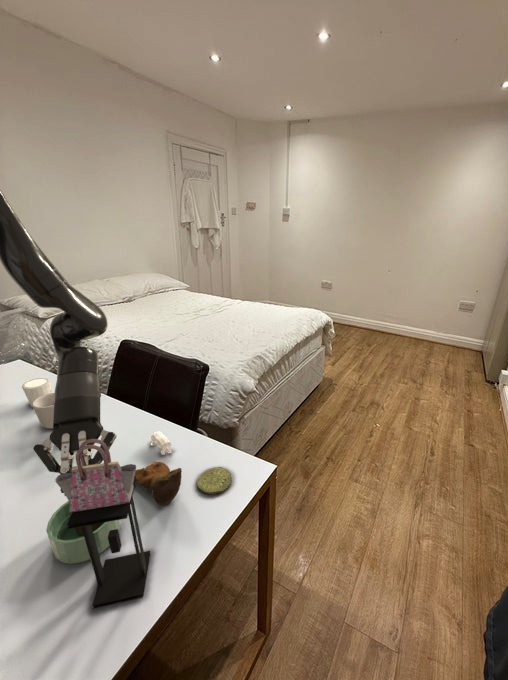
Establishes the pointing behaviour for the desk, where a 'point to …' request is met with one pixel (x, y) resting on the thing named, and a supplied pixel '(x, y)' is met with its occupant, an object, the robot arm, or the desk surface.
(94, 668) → the desk surface
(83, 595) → the desk surface
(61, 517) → the bowl
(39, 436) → the desk surface
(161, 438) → the figurine
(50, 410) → the cup
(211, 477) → the medallion
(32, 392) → the white cup
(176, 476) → the sculpture
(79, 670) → the desk surface
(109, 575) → the handbag
